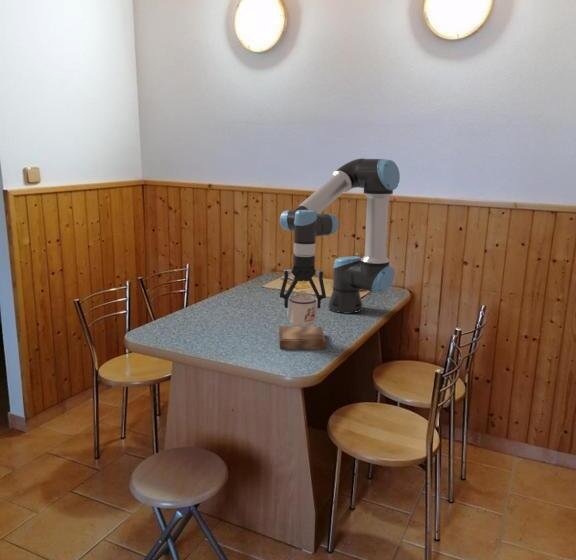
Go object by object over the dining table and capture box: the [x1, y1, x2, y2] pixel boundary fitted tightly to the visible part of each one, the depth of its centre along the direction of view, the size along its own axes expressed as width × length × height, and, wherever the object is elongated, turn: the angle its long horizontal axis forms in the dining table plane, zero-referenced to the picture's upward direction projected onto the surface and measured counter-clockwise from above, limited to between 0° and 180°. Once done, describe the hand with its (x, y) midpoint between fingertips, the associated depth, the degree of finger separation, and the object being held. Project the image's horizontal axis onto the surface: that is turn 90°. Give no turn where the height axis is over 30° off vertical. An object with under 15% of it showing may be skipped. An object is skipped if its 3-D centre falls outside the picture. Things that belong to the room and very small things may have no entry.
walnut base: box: [278, 325, 327, 350], centre depth 198 cm, size 16×16×3 cm
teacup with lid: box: [289, 290, 316, 327], centre depth 196 cm, size 12×9×12 cm
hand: (302, 316), depth 197 cm, fingers closed on teacup with lid, 9 cm apart
